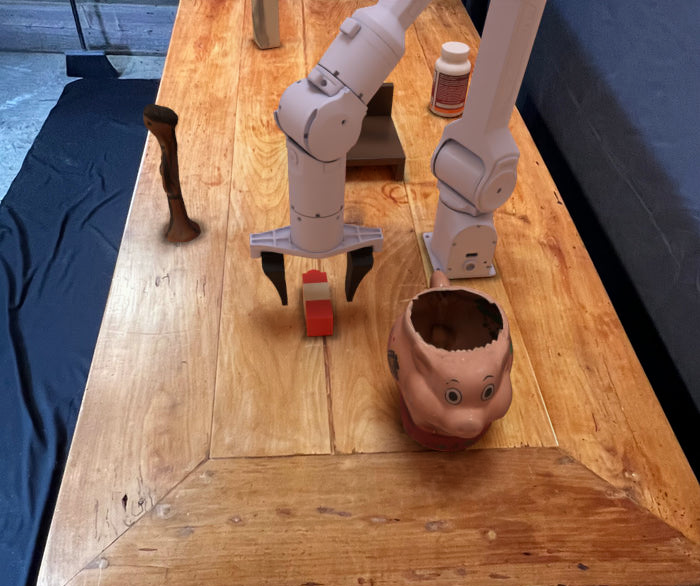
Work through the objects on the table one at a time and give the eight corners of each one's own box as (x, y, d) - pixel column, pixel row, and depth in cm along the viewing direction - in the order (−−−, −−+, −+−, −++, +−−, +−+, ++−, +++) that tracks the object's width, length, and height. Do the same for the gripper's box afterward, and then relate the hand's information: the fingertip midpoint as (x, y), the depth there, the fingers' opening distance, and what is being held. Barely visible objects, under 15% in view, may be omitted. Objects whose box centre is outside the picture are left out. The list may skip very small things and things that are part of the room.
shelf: (403, 180, 97) (409, 126, 90) (300, 184, 95) (298, 129, 89) (388, 134, 106) (392, 82, 100) (294, 137, 105) (292, 84, 98)
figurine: (166, 214, 89) (140, 90, 76) (202, 213, 89) (182, 90, 76) (162, 247, 84) (132, 120, 71) (200, 245, 84) (177, 119, 71)
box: (252, 40, 130) (247, -29, 121) (272, 37, 132) (269, -31, 122) (261, 50, 127) (256, -20, 118) (281, 47, 129) (278, -23, 119)
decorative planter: (365, 342, 74) (372, 248, 63) (464, 332, 75) (487, 239, 65) (403, 491, 60) (420, 403, 50) (522, 475, 62) (563, 387, 52)
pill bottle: (470, 113, 113) (482, 50, 104) (443, 121, 110) (453, 57, 102) (448, 99, 116) (458, 37, 108) (422, 106, 114) (430, 44, 105)
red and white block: (333, 335, 74) (333, 316, 72) (307, 337, 74) (306, 318, 72) (325, 283, 80) (325, 265, 78) (301, 285, 80) (300, 266, 78)
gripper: (379, 177, 68) (371, 272, 78) (245, 182, 67) (254, 279, 77) (390, 216, 64) (380, 312, 74) (246, 222, 62) (256, 319, 72)
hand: (316, 298), depth 75 cm, fingers open, 7 cm apart
